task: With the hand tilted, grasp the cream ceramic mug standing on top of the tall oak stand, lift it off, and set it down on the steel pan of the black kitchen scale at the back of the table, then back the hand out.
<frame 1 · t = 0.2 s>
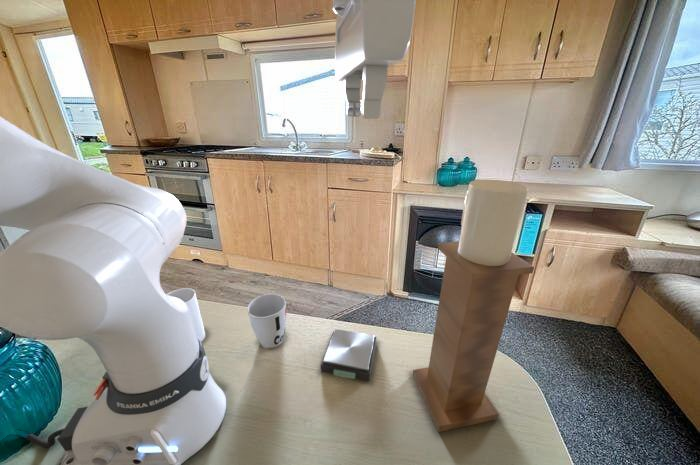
hand: (361, 117, 33), 48 cm above the table, tool pointing down, fingers open, 8 cm apart
cup: (271, 340, 64), on the table
scale: (350, 356, 60), on the table
cream mug: (482, 253, 40), point 30 cm above the table, touching stand
mug: (186, 345, 63), on the table
stand: (451, 395, 52), on the table
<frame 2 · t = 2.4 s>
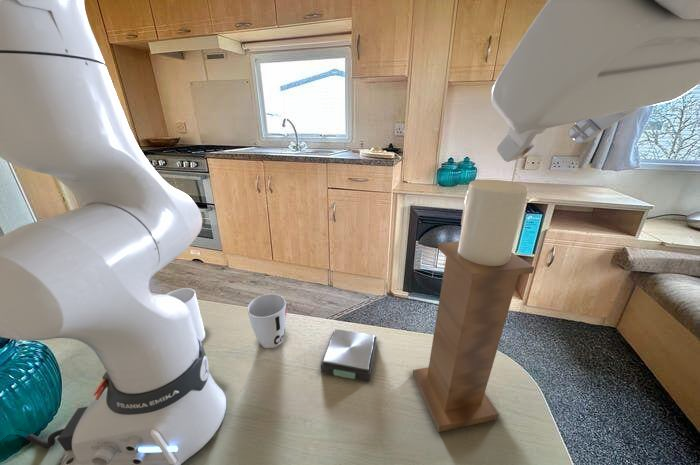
hand: (543, 146, 26), 46 cm above the table, tool tilted 40°, fingers open, 8 cm apart
nothing on the table moved.
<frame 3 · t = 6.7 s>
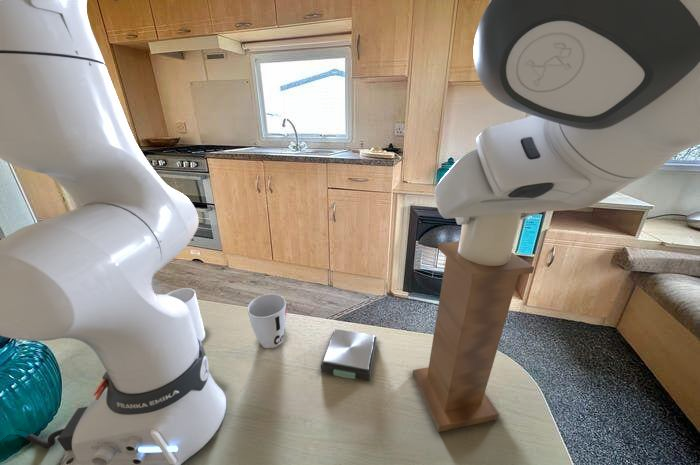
hand: (487, 217, 38), 35 cm above the table, tool tilted 45°, fingers closed on cream mug, 7 cm apart
cream mug: (482, 253, 40), point 30 cm above the table, touching gripper, stand
everything else where it was.
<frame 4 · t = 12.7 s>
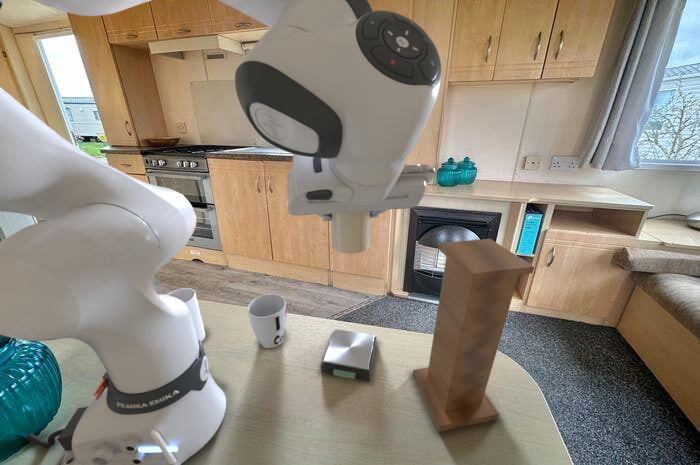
hand: (349, 215, 47), 32 cm above the table, tool tilted 45°, fingers closed on cream mug, 7 cm apart
cream mug: (350, 244, 49), point 27 cm above the table, touching gripper
everything else where it was.
when the fingers open (8 cm above the table, at t = 18.5 s): cream mug stays where it is, resting on scale.
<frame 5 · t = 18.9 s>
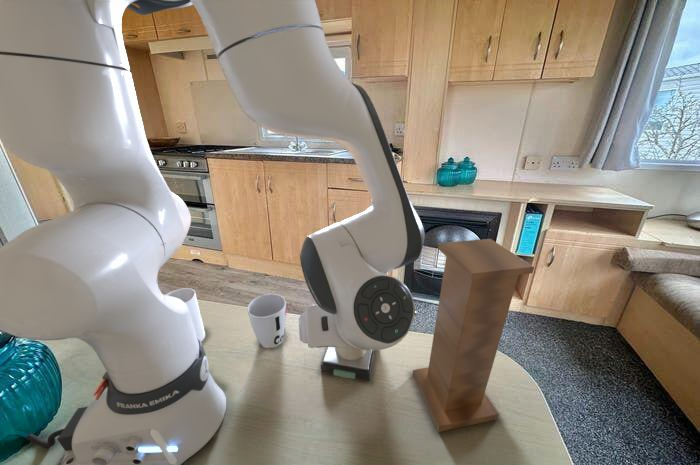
hand: (349, 324, 57), 8 cm above the table, tool tilted 45°, fingers open, 8 cm apart
cream mug: (350, 347, 59), point 3 cm above the table, touching scale
everything else where it was.
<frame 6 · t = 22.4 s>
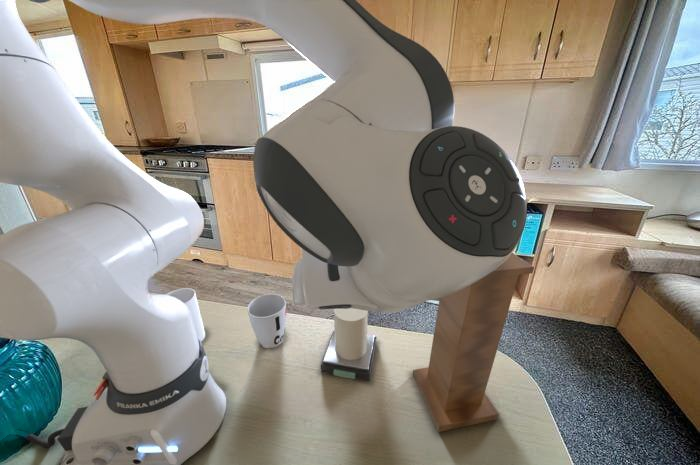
hand: (364, 290, 41), 25 cm above the table, tool tilted 45°, fingers open, 8 cm apart
nothing on the table moved.
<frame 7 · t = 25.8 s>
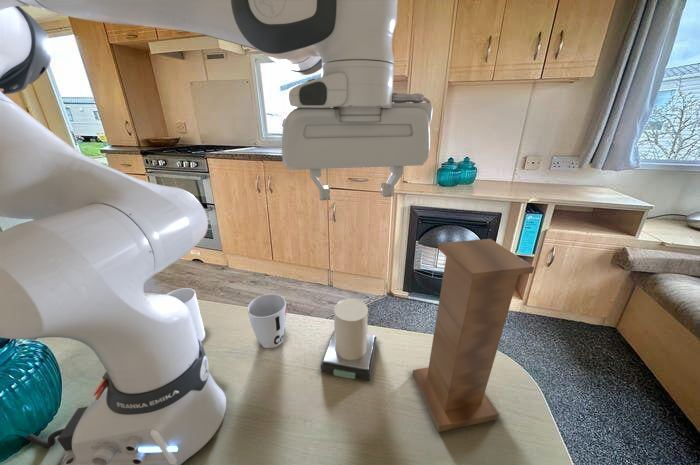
hand: (356, 197, 41), 37 cm above the table, tool pointing down, fingers open, 8 cm apart
nothing on the table moved.
at the end: cream mug inside the target area on the scale (0.2 cm from its centre), point 2.8 cm above the scale's base; cream mug tilted 0°; the gripper is holding nothing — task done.
